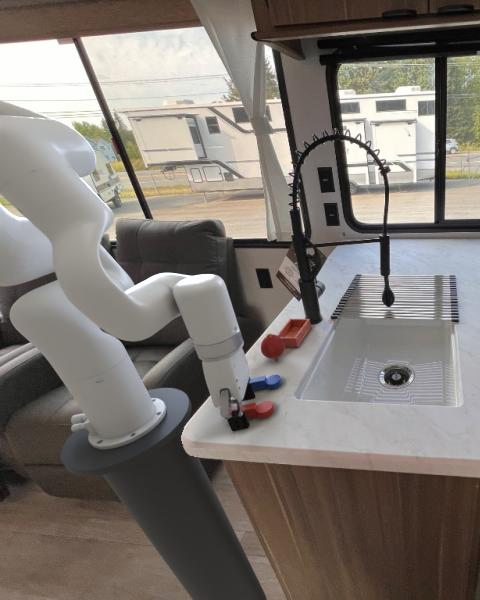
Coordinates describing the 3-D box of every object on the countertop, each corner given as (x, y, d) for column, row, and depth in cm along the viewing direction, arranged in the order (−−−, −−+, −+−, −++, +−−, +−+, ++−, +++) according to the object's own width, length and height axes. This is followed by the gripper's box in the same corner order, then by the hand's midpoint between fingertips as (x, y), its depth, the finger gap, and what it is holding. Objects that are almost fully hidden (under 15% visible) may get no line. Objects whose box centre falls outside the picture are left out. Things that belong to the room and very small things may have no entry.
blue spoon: (243, 395, 70) (240, 387, 69) (245, 385, 73) (243, 377, 72) (281, 387, 72) (279, 379, 71) (282, 378, 75) (280, 370, 74)
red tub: (297, 347, 86) (295, 338, 85) (276, 346, 87) (274, 337, 85) (311, 327, 96) (309, 318, 94) (291, 326, 96) (290, 318, 95)
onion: (264, 354, 84) (257, 329, 80) (287, 350, 85) (281, 325, 82) (263, 367, 79) (256, 341, 75) (287, 362, 80) (281, 336, 77)
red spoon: (230, 425, 62) (227, 416, 61) (234, 413, 65) (230, 404, 64) (273, 416, 64) (271, 407, 63) (275, 404, 67) (272, 395, 66)
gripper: (209, 322, 63) (233, 389, 71) (179, 377, 48) (214, 454, 56) (248, 316, 65) (268, 382, 72) (231, 367, 49) (258, 443, 57)
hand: (244, 412), depth 64 cm, fingers open, 7 cm apart
